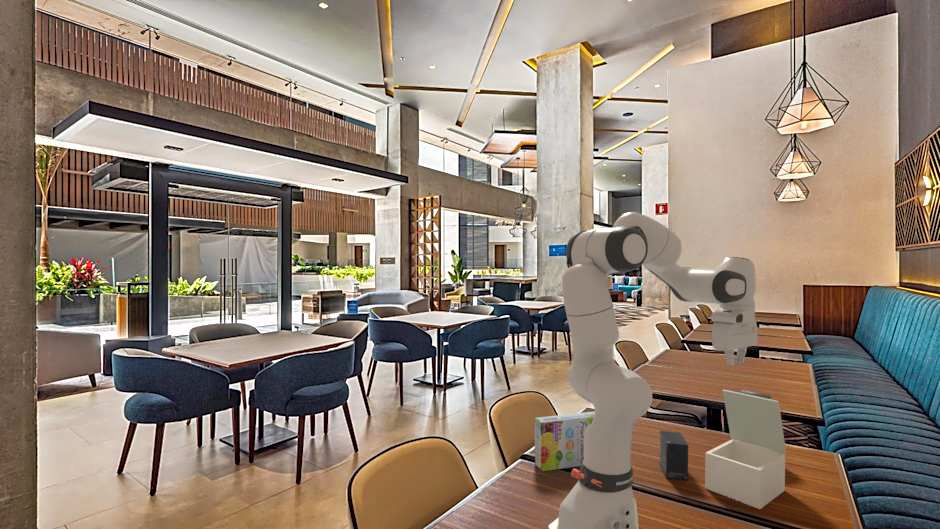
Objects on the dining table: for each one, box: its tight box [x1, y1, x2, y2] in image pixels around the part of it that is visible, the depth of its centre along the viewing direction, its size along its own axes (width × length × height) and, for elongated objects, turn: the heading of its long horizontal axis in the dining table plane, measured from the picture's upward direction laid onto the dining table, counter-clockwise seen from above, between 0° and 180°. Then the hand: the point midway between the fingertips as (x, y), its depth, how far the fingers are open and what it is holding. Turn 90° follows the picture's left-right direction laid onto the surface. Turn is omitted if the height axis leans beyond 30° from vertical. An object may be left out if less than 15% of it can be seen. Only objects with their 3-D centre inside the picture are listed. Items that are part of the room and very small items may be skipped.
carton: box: [704, 438, 786, 510], centre depth 132 cm, size 16×14×10 cm
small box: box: [659, 430, 689, 481], centre depth 143 cm, size 11×6×10 cm, turn 168°
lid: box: [721, 389, 787, 455], centre depth 136 cm, size 16×14×5 cm
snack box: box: [533, 411, 595, 472], centre depth 149 cm, size 21×6×15 cm, turn 105°
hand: (735, 363), depth 135 cm, fingers open, 4 cm apart
